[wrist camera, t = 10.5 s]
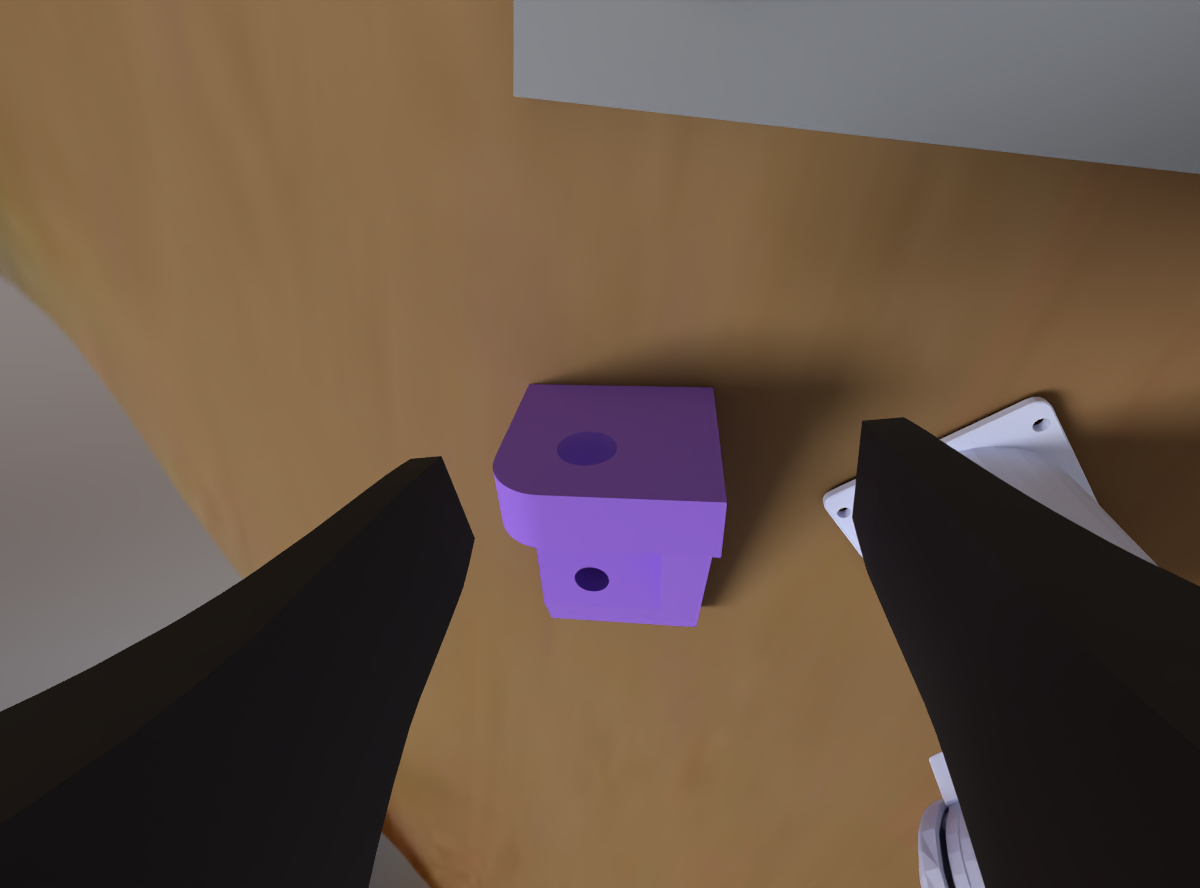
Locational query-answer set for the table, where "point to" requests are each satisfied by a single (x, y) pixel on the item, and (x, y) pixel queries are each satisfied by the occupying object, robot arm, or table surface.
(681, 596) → the bracket
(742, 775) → the table surface
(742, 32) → the board
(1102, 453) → the table surface
